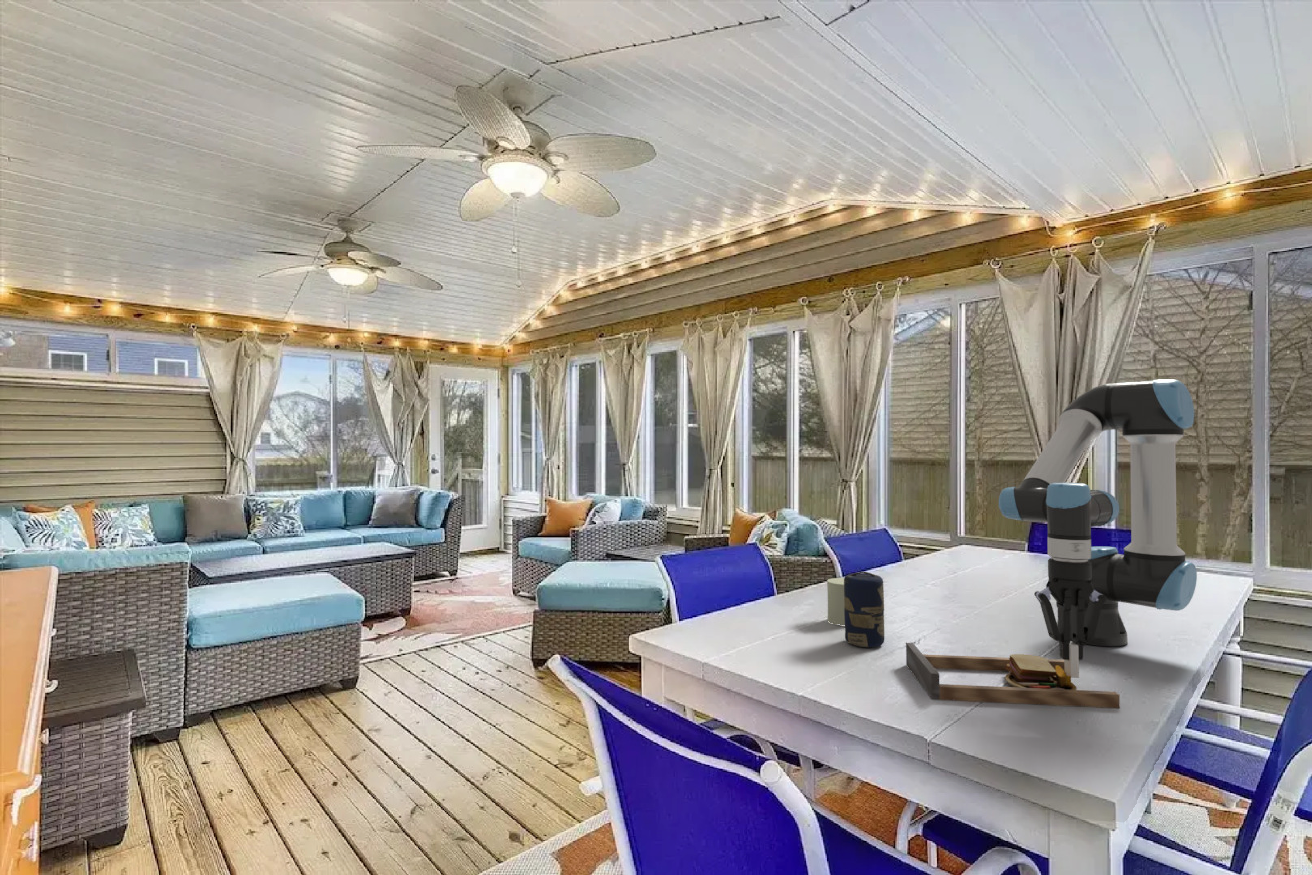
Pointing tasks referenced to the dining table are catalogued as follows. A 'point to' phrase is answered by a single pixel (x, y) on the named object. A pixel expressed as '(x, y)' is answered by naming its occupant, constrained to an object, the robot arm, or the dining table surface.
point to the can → (836, 601)
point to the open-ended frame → (929, 680)
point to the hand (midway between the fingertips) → (1071, 675)
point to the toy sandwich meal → (1036, 673)
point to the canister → (864, 609)
